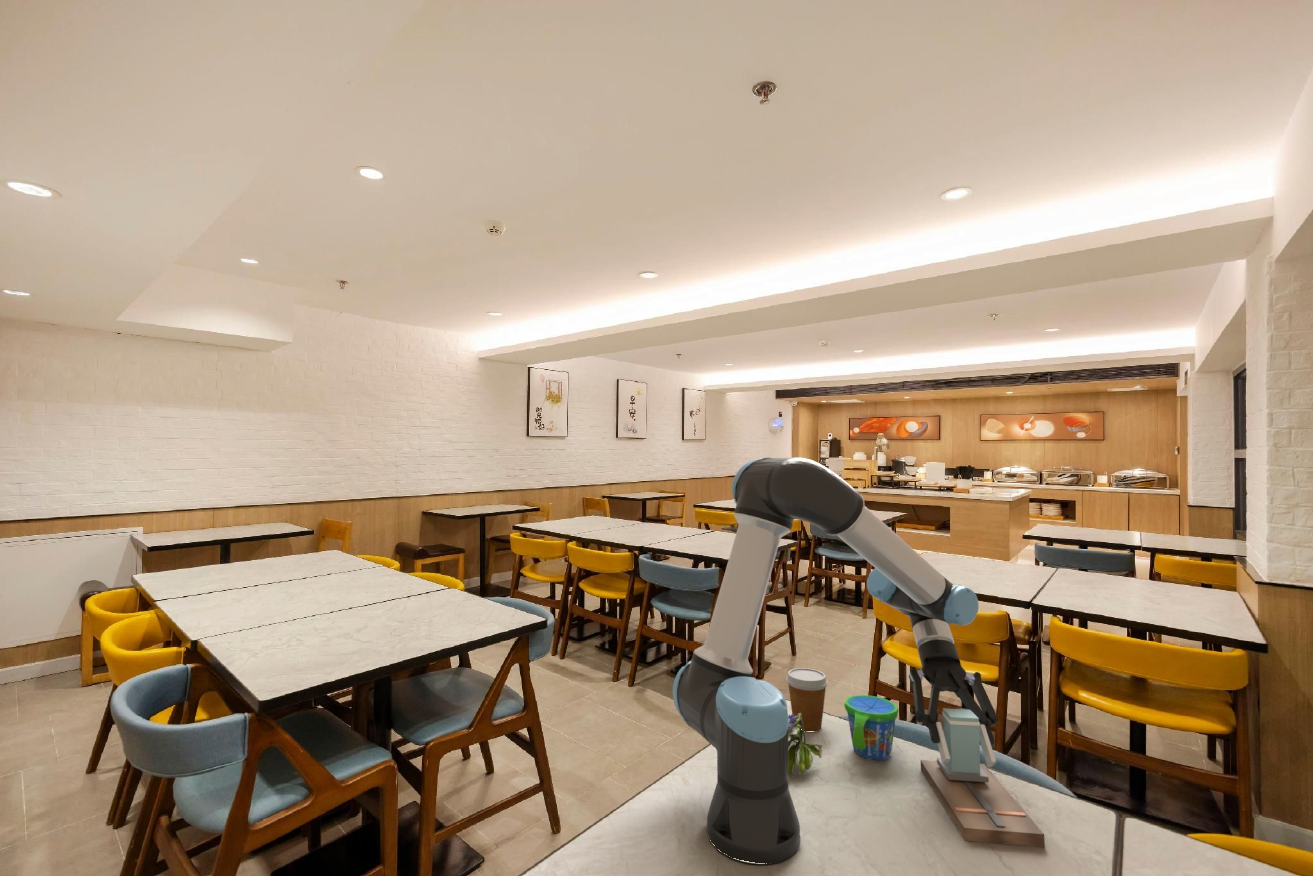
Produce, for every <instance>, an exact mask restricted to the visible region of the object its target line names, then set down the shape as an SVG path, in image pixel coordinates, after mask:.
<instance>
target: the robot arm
mask: <svg viewBox="0 0 1313 876" xmlns="http://www.w3.org/2000/svg"><path fill="white" fill-rule="evenodd" d="M731 493H732V494H731V495H732V497H733V501H734V503H735V505H736V506H735V509H734V513H733V516H734V518H735V521H736V522H737V525H738V526H737V529H736V532H735V533H736V534H735V536H734V540H733V544H732V547H731V550H730V554H729V558H728V561H727V564H726V567H725V572H724V574H723V575H724V576H723V579H722V582H721V585H720V589H719V593H718V595H717V599H716V603H715V607H714V609H713V614H712V617H711V620H710V624H709V627H708V630H707V634H706V638H705V640H704V641H705V642H704V644H703V645H701V646H699V647H697V648H695V649H694V650H693V654H692V657H691V660H689V661H688V662H686V664H685V665H684V666H681V668H680V669H679V670H678V672H677V674H676V675H675V679H674V681H673V686H672V698H673V703H674V706H675V709H676V711H677V712H678V714H679V715H680V716H681V718H682V719H683V721H684V722H685V724H687V726H688V727H689V728H691V729H693V730H694V731H695V732H697V733H698V734H699V735H700V736H701V737H702V738H703V739H705V741H706V742H708V743H709V744H710V745H712V747H713V748H715V750H716V757H717V758H716V759H717V760H716V762H717V763H716V768H717V769H716V770H717V771H716V773H717V777H716V778H717V782H716V786H715V788H714V792H713V795H712V797H711V801H710V804H709V807H708V811H707V816H706V834H707V833H708V835H707V837H708V836H709V838H710V840H711V842H712V843H713V844H714V845H715V847H716V848H717V849H719V850H720V851H721V852H722V853H721V852H720V851H719V852H720V853H721V854H723V853H725V854H727V855H728V856H730V857H732V858H736V859H739V860H744V861H749V862H755V863H765V864H764V865H771V864H770V863H773V864H777V862H778V863H781V862H784V861H786V860H788V859H789V858H791V857H792V856H794V855H795V854H796V852H797V851H798V850H799V847H800V845H801V827H800V826H801V825H800V820H799V817H798V815H797V811H796V809H795V804H794V802H793V798H792V796H791V792H790V790H789V773H788V750H789V749H788V726H789V718H788V716H789V713H788V705H787V699H786V698H785V695H784V694H783V693H782V692H781V691H780V690H779V689H778V687H776V686H775V685H773V684H772V683H770V682H768V681H766V680H764V679H759V680H758V679H756V678H755V677H752V676H753V672H754V670H753V668H752V666H751V664H750V662H749V660H748V659H749V656H750V653H751V649H752V648H751V647H752V644H753V641H754V636H755V634H756V630H757V626H758V623H759V619H760V616H761V613H762V608H763V605H764V602H765V601H764V600H765V597H766V592H767V590H768V586H769V582H770V578H771V575H772V571H773V568H774V563H775V560H776V556H777V553H778V549H779V545H780V542H781V539H782V538H783V537H785V536H786V535H788V534H790V533H791V531H792V528H793V524H794V521H795V520H799V521H803V522H806V523H809V524H811V525H814V526H816V527H817V528H819V530H821V531H822V532H823V533H825V534H826V535H829V536H833V537H834V536H837V537H838V538H839V539H840V540H841V541H843V542H844V543H845V544H847V546H849V547H850V548H851V549H852V550H854V551H855V552H856V554H858V555H860V557H862V558H863V559H864V560H865V561H867V562H868V563H869V564H870V565H871V566H872V567H874V569H872V570H871V571H870V572H869V574H868V577H867V580H866V588H867V592H868V593H869V594H870V595H871V596H872V597H874V598H875V599H876V600H877V601H879V602H880V603H884V604H885V605H887V606H889V607H891V608H892V609H894V610H896V611H898V612H900V613H902V614H904V615H905V616H907V617H908V618H909V621H910V625H911V629H912V632H913V633H912V634H913V637H914V641H915V644H916V647H917V648H918V649H917V652H918V656H919V661H920V663H921V669H918V670H917V669H915V668H912V669H910V672H909V675H908V679H909V680H910V682H911V685H912V691H913V701H914V703H913V704H914V713H915V720H916V722H918V723H919V724H921V723H923V724H925V726H926V728H927V729H928V732H929V735H930V740H931V742H932V743H933V744H937V747H938V751H939V755H940V758H941V760H942V764H947V763H948V762H949V760H950V756H949V752H948V748H947V744H946V740H945V737H944V732H943V726H942V725H943V724H942V722H941V721H936V720H937V716H938V715H937V714H938V707H939V700H940V693H941V692H942V693H943V692H950V693H954V695H956V697H957V698H959V699H960V701H961V702H962V704H963V706H964V707H965V709H966V710H971V711H972V712H973V713H974V714H975V715H976V716H977V717H978V718H979V722H980V726H979V742H980V747H981V751H982V753H983V756H984V760H985V764H986V766H987V768H992V767H994V765H995V764H996V762H997V759H996V756H995V754H994V751H993V747H994V745H995V743H996V742H995V738H994V735H993V732H992V728H994V727H995V726H996V725H997V723H998V722H999V717H998V715H997V712H996V711H995V708H994V707H993V705H992V702H991V700H990V698H989V696H988V693H987V691H986V689H985V688H984V687H985V686H983V683H982V673H980V672H979V671H975V672H974V673H972V672H968V671H966V670H965V668H964V667H963V666H962V663H961V660H960V656H959V653H958V650H957V647H956V644H955V640H954V637H953V633H952V631H951V628H950V625H951V624H953V625H957V626H968V625H970V624H972V622H974V620H975V619H976V617H977V614H978V613H979V607H980V606H979V599H978V596H977V594H976V593H975V592H974V590H973V589H971V588H970V587H967V586H963V585H961V584H955V583H952V582H950V581H949V580H948V578H946V577H945V576H944V575H942V573H940V571H938V570H937V569H936V568H934V566H933V565H931V564H930V563H929V562H928V561H927V560H926V559H924V557H922V555H920V554H919V553H918V552H917V551H916V550H915V549H913V548H912V547H911V546H910V545H909V544H908V543H907V542H905V540H903V538H901V537H900V536H899V535H898V534H897V533H896V532H895V531H893V530H892V529H891V528H890V527H889V526H888V525H887V524H886V523H884V522H883V521H882V520H881V518H879V517H878V516H876V514H874V513H873V512H872V511H871V510H870V509H869V508H868V507H867V506H866V505H865V499H864V497H863V495H862V494H860V493H859V492H858V491H857V489H855V488H854V487H853V486H852V485H850V483H848V482H847V481H846V480H845V479H843V478H842V477H841V476H839V475H838V474H837V473H835V472H833V470H831V469H829V468H828V467H826V466H824V465H823V464H821V463H819V462H817V461H815V460H814V459H809V458H806V457H800V456H799V457H798V456H797V457H795V456H794V457H762V458H758V459H754V460H753V459H752V460H750V461H748V462H747V463H745V464H744V465H742V466H741V467H739V468H738V470H737V472H736V474H735V476H734V478H733V480H732V485H731ZM949 624H950V625H949ZM923 679H925V680H926V681H927V682H928V684H930V685H931V687H930V688H931V689H930V697H929V703H928V704H929V705H928V709H927V713H926V710H925V702H924V701H925V700H924V692H923V685H922V684H923V683H922V681H923ZM964 680H967V682H968V684H969V686H971V688H972V692H973V694H974V696H975V698H976V700H977V702H978V703H977V702H976V700H975V698H974V697H973V696H972V694H971V693H970V691H969V690H968V687H967V685H966V684H965V682H964ZM978 704H979V705H978ZM709 838H708V839H709ZM710 840H709V841H710ZM711 842H710V843H711ZM712 843H711V844H712ZM715 847H714V848H715ZM716 848H715V849H716ZM717 849H716V850H717ZM728 856H727V857H728ZM730 857H729V858H730ZM732 858H731V859H732ZM766 863H767V864H766Z"/></svg>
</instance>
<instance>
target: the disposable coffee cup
mask: <svg viewBox="0 0 1313 876" xmlns="http://www.w3.org/2000/svg"><path fill="white" fill-rule="evenodd" d="M785 679H786V680H785V681H786V682H787V684H788V685H787V686H788V691H789V692H788V693H789V700H790V706H791V707H790V708H791V715H793V714H794V716H797V715H798V713H802V719H803V724H804V731H817V732H819V730H820V729H821V730H822V727H823V726H822V725H823V718H824V717H823V715H824V707H825V706H824V705H825V698H826V688H827V685H828V684H829V681H828V679H827V676H826V674H825V673H824V672H823V671H820V670H817V669H813V668H808V667H798V668H792V669H789V670H788V671H787V675H786V677H785ZM799 725H801V724H799ZM801 729H802V725H801ZM802 730H803V729H802ZM821 730H820V731H821Z"/></svg>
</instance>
